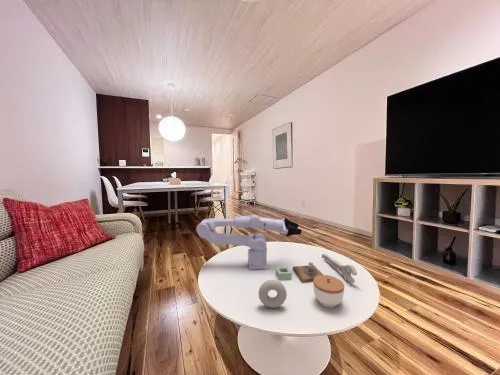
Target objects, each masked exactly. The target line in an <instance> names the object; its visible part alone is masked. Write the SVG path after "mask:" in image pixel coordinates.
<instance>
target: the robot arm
mask: <svg viewBox="0 0 500 375" xmlns="http://www.w3.org/2000/svg"><path fill="white" fill-rule="evenodd" d="M200 221H201V222H200V223H198V224H197V226H196V234H198V236H199V238H203V239H204V240H206V241H207V242H209V243H210V244H214V245H216V244H217V245H228V246H229V245H230V246H240V247H241V246H242V247H248V251H247V265H248V268H249V270H252V271H253V270H265V269H267V270H268V269H270V267H269V265H268V263H267V261H268V260H267V258H268V257H267V255H268V254H267V253H268V248H267V241H266V237H265V235H264V234H263V233H262V232H258V233H254V234H253V233H252V234H249V235H247V234H246V235H245V234H235V233H233V234H232V233H222V232H217V230H216V228H217V227H230V226H233V227H234V228H236V229H242V228H243V229H244V228H245V229H246V228H249V229H250V228H251V229H253V230H258V229H262V230H267V231H274V232H280V233H282V235H285V237H287V238H288V237H291V236H295V235H301V234H302V231H303V229H302V228H301V229H300V228H299V223H296V222H294V221H291V219H288V218H287V217H285V218H283V217H282V219H276V218H271V217H270V218H269V217H264V216H259V215H257V214H252V215H251V214H248V215H247V216H245V215H241V214H238V215H236V216H235V217H234V218H219V217H218V218H217V217H216V218H213V217H211V218H204V219H202V220H200Z"/></svg>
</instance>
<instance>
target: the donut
mask: <svg viewBox="0 0 500 375" xmlns="http://www.w3.org/2000/svg"><path fill="white" fill-rule="evenodd" d="M270 291H275V292H276V293H277V294H276V295H275V296H270V295H269V292H270ZM287 295H288V294H287V289H286V287H285V285H284V284H283V283H282V282H280V280H276V279H269V280H266V281H264V282H263V283H261V285H260V287H259V288H258V299H259V300H260V302H261V303H262V305H264V306H265V307H267V308H270V309H275V308H278V307H280V306H282V305H284V303H285V302H286V300H287Z"/></svg>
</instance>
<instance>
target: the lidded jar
mask: <svg viewBox="0 0 500 375" xmlns="http://www.w3.org/2000/svg"><path fill="white" fill-rule="evenodd" d="M312 283H313V286H312V287H313V294H314V296H315V298H316V300H317V301H318V302H319V303H320V304H321V305H322V306H323V307H325V308H335V307H337V306H339V304H340V303H341V302H342V300H343V299H344V292H345V284H344V282H343V281H342V280H341V279H339V278H337V277H335V276H331V275H327V274H326V275H325V274H323V275H320V276H316V277H315V278H314V279H313V282H312Z"/></svg>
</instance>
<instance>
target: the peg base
mask: <svg viewBox="0 0 500 375" xmlns="http://www.w3.org/2000/svg"><path fill="white" fill-rule="evenodd" d="M292 271H293V272H294V273H295V275H296V276H297V278H298V279H299V281H300V282H301V283H313V279H314V278H315V277H316V276H320V275H324V274H323V273H322V272H321V271H320V269H318V267H317V266H316V265H314V263H313V262H310V261H309V262H308V265H297V266H295V265H294V266H292Z"/></svg>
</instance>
